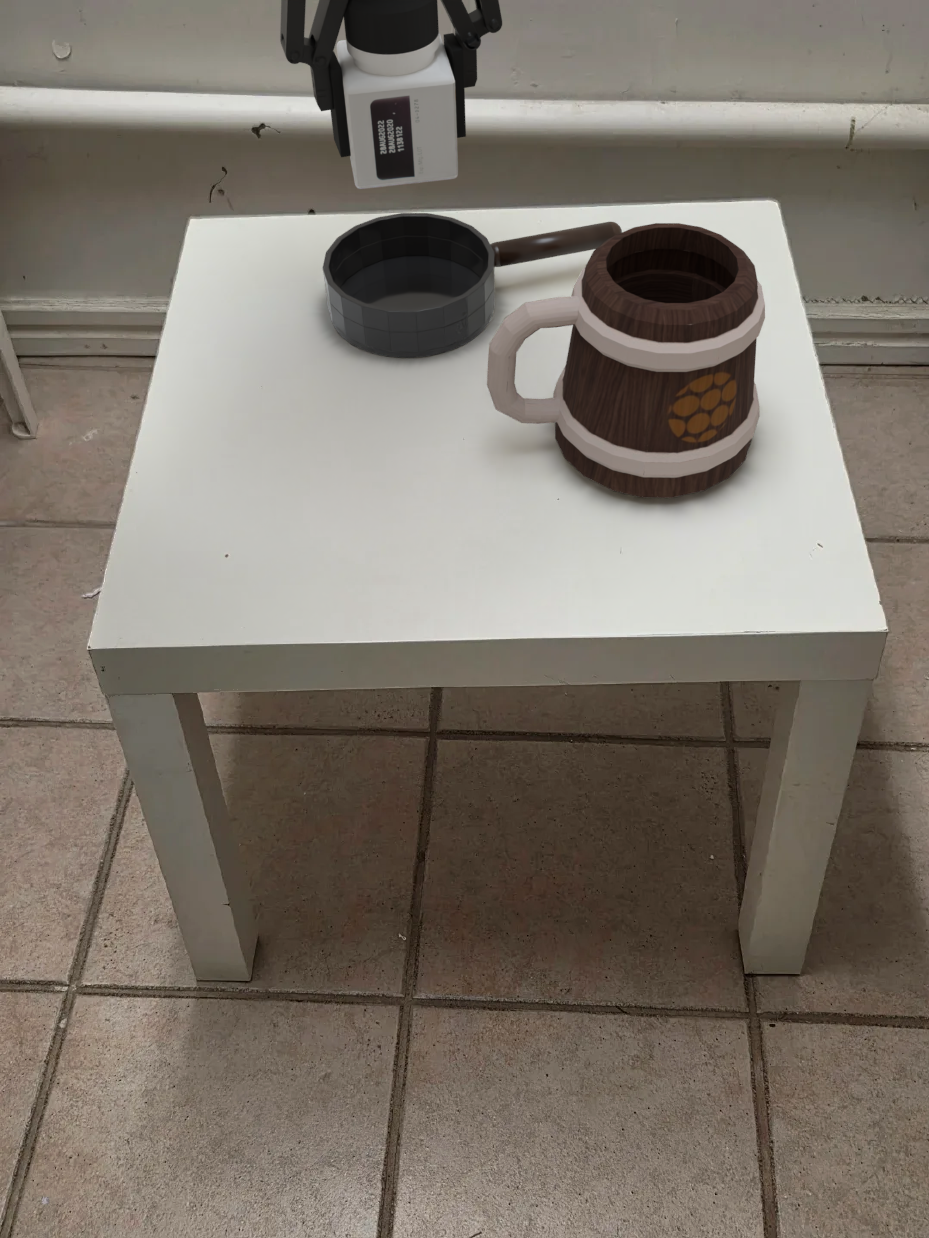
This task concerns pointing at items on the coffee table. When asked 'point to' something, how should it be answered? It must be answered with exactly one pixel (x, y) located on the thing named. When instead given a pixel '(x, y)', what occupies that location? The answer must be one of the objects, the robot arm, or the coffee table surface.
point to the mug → (647, 362)
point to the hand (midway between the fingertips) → (399, 138)
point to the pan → (410, 284)
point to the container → (398, 93)
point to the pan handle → (553, 243)
